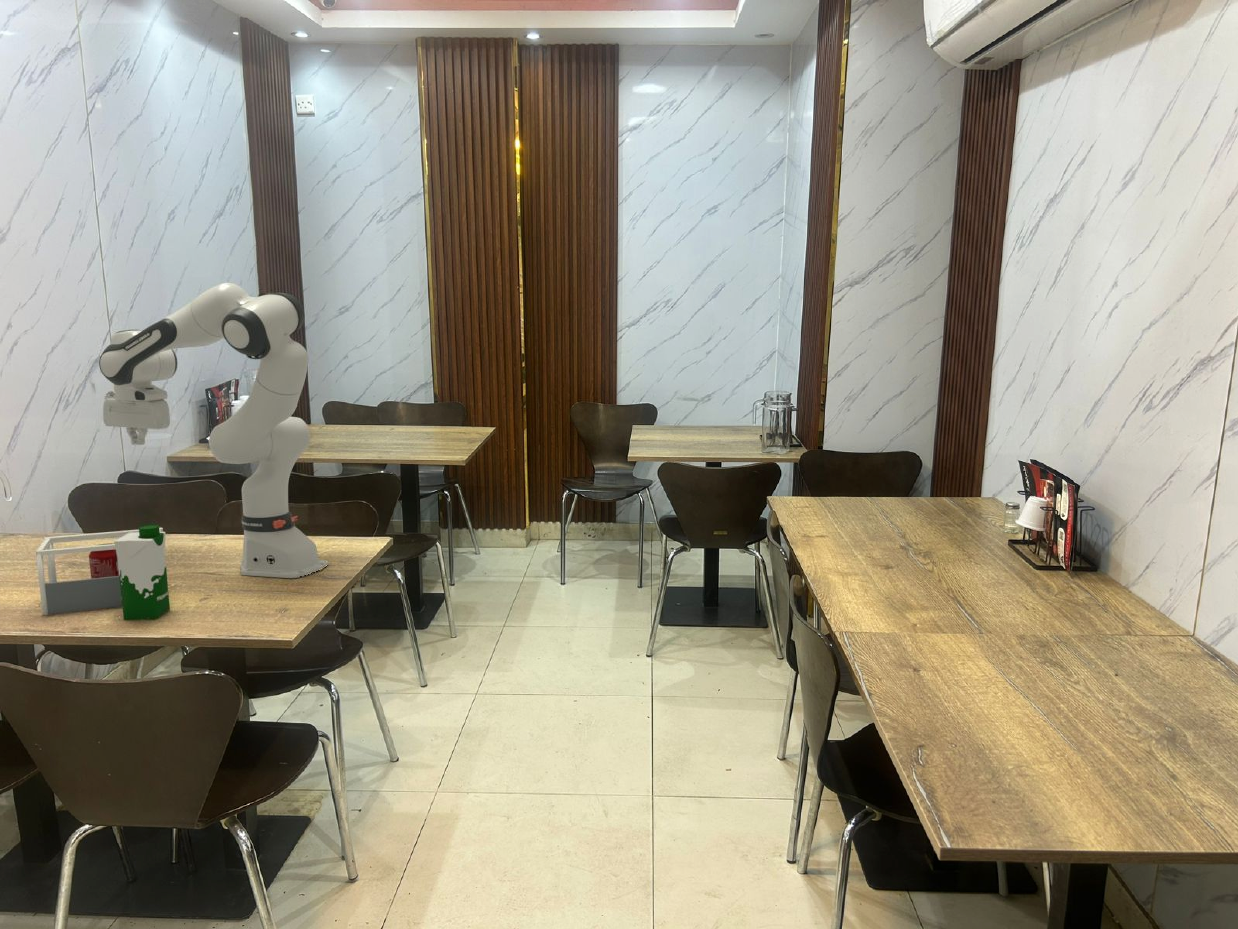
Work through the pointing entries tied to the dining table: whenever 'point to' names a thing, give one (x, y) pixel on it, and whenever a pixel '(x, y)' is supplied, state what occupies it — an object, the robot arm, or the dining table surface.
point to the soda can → (103, 563)
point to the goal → (77, 591)
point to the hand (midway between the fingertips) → (138, 444)
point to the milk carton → (143, 573)
